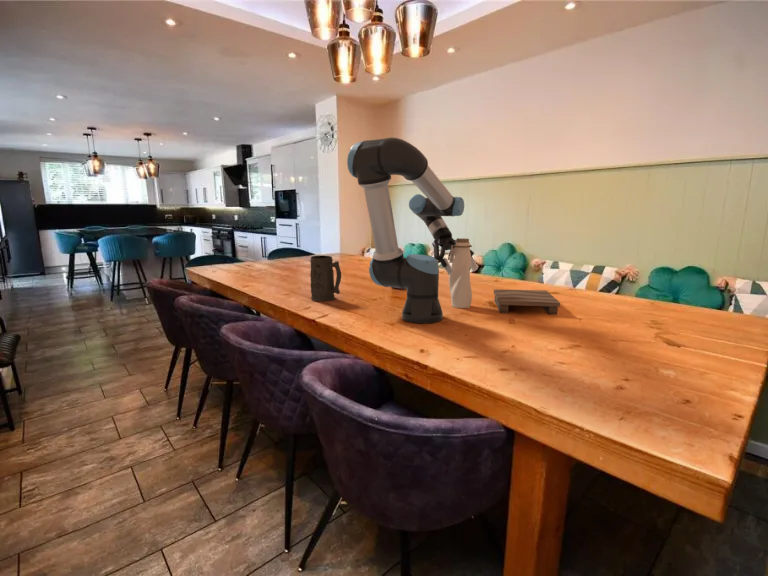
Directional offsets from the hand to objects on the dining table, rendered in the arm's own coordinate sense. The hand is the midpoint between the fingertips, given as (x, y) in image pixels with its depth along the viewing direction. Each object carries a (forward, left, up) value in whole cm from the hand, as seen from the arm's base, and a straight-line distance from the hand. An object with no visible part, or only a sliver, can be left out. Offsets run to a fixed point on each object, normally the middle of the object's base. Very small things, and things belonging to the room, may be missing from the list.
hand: (463, 271), depth 158 cm
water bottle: (+1, +1, -15) cm, 15 cm away
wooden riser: (+2, -25, -15) cm, 29 cm away
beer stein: (+6, +60, -15) cm, 62 cm away
